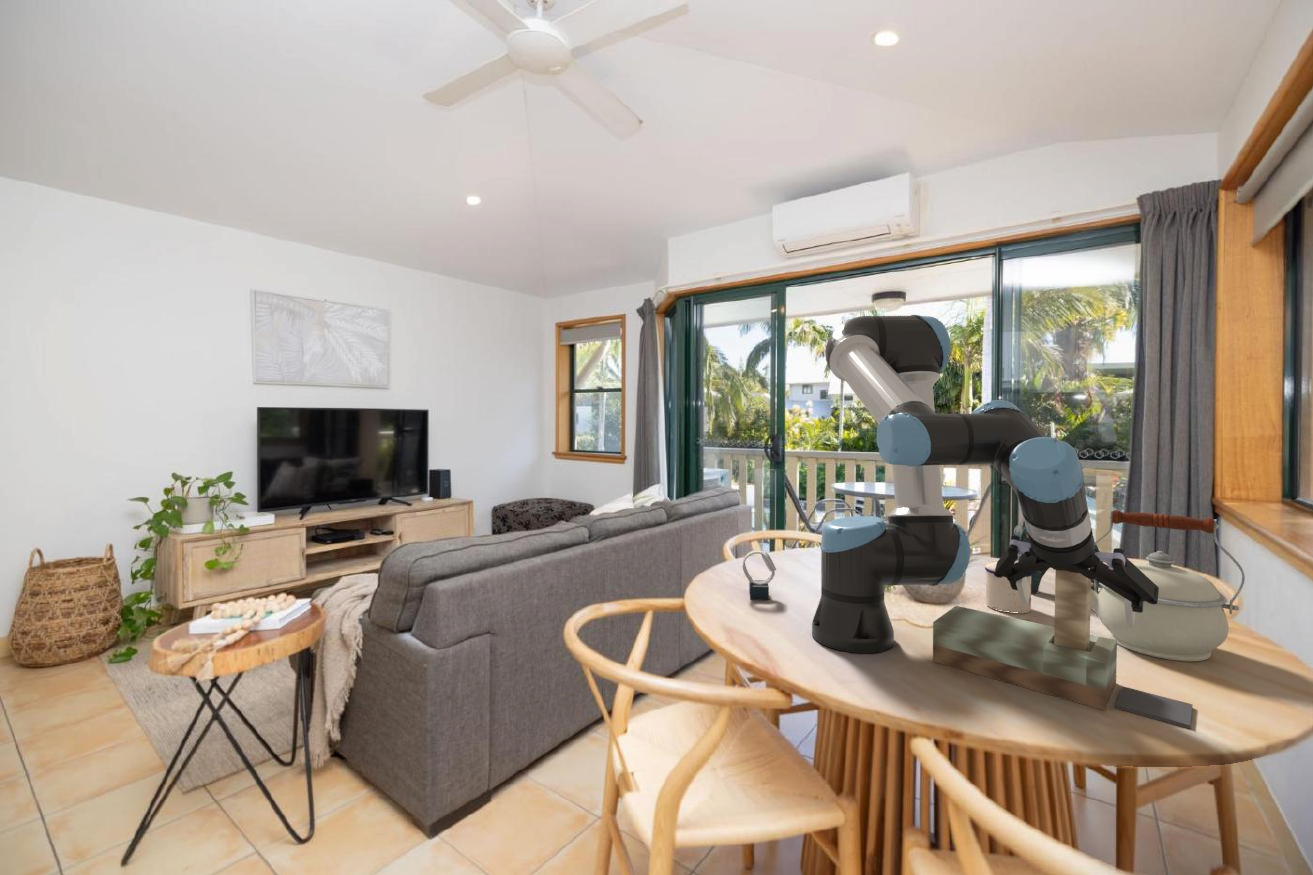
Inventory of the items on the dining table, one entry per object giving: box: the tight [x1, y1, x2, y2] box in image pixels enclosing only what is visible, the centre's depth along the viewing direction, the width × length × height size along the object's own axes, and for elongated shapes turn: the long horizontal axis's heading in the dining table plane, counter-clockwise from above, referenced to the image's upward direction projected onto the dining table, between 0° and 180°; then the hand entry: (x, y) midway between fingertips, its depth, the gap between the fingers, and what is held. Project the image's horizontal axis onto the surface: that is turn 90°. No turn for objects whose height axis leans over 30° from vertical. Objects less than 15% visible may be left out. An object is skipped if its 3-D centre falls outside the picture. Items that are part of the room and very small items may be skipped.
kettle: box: [1090, 509, 1246, 663], centre depth 106 cm, size 25×18×25 cm
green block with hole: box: [932, 605, 1118, 711], centre depth 95 cm, size 24×12×7 cm, turn 45°
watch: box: [742, 549, 777, 601], centre depth 136 cm, size 6×8×11 cm
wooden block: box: [1054, 568, 1091, 652], centre depth 90 cm, size 4×4×16 cm
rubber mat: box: [1115, 686, 1193, 730], centre depth 83 cm, size 8×8×1 cm
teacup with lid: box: [984, 560, 1032, 614], centre depth 128 cm, size 12×9×12 cm
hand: (1076, 608), depth 91 cm, fingers open, 13 cm apart
